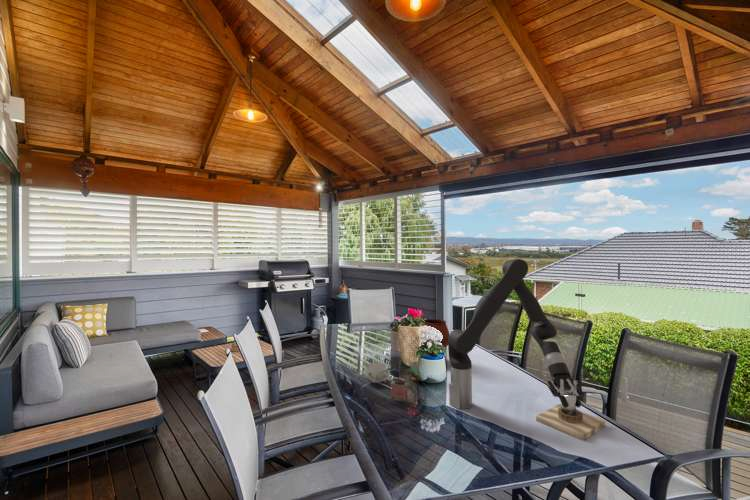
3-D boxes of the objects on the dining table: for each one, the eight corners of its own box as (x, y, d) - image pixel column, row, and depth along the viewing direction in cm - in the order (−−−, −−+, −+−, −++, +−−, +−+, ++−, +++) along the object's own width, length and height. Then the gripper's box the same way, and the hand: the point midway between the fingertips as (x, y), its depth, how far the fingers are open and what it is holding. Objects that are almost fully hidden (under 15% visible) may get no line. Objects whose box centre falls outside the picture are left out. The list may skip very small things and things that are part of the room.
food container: (415, 384, 181) (415, 365, 181) (408, 380, 187) (408, 361, 187) (434, 379, 187) (434, 361, 187) (427, 375, 193) (427, 357, 192)
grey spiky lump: (360, 380, 188) (360, 365, 188) (379, 374, 195) (378, 360, 195) (377, 389, 176) (376, 373, 176) (396, 383, 183) (396, 368, 183)
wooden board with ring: (583, 440, 127) (583, 428, 127) (536, 420, 142) (536, 409, 142) (605, 425, 138) (605, 414, 137) (559, 408, 152) (559, 398, 152)
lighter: (408, 399, 164) (408, 377, 164) (406, 402, 161) (406, 380, 161) (392, 396, 168) (392, 375, 167) (390, 399, 164) (389, 378, 164)
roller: (572, 418, 137) (572, 398, 137) (561, 414, 140) (561, 394, 140) (578, 415, 139) (578, 395, 139) (567, 411, 143) (567, 391, 143)
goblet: (454, 358, 220) (454, 319, 220) (443, 368, 204) (442, 325, 203) (426, 354, 230) (426, 316, 230) (413, 362, 214) (413, 322, 214)
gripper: (542, 361, 147) (558, 403, 135) (577, 361, 147) (595, 403, 135) (537, 369, 152) (551, 410, 141) (570, 369, 152) (586, 410, 140)
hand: (572, 406), depth 138 cm, fingers closed on roller, 4 cm apart
